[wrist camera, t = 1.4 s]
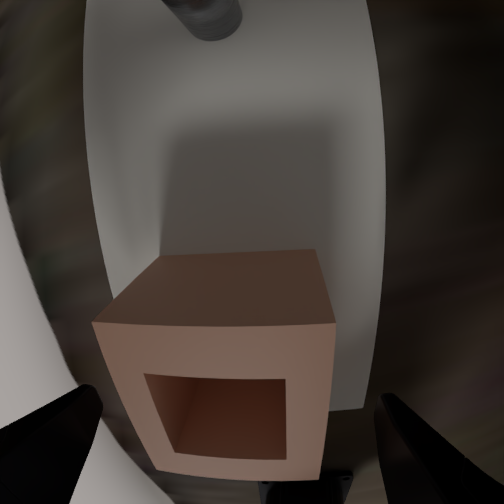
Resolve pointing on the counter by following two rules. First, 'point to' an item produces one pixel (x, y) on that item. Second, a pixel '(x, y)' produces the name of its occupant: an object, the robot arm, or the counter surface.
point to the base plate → (243, 149)
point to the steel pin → (207, 17)
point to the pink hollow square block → (226, 363)
